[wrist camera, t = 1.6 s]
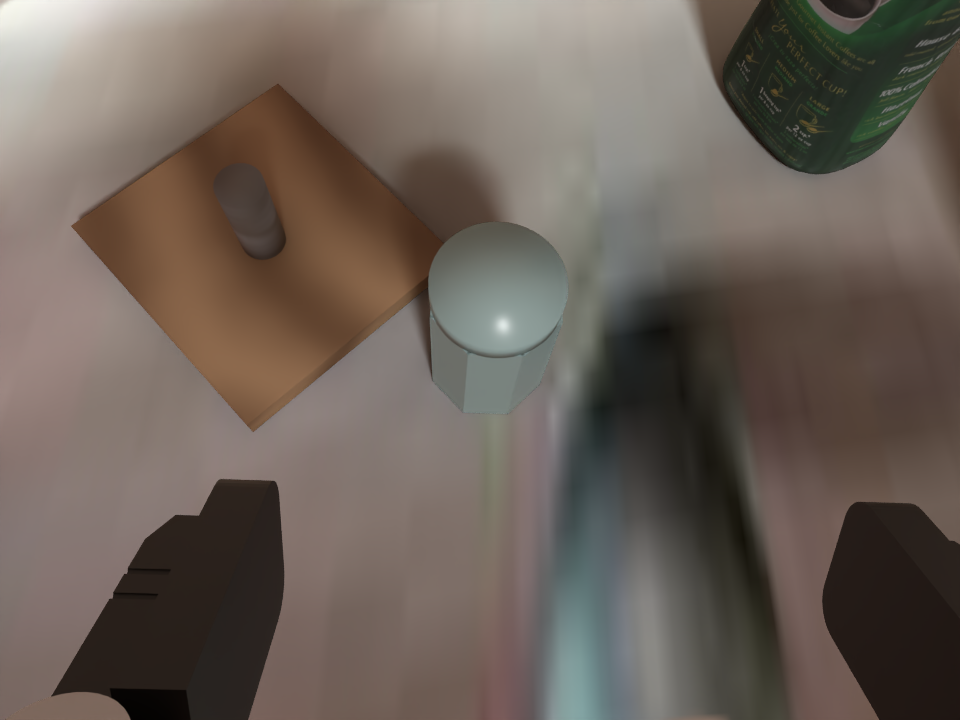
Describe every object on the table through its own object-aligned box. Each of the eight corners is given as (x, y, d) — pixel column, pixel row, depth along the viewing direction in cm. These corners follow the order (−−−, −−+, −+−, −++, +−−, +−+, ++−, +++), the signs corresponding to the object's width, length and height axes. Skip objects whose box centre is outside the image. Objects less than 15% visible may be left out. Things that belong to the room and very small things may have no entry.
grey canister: (488, 292, 39) (499, 197, 31) (563, 365, 38) (597, 287, 30) (409, 359, 38) (398, 279, 30) (485, 437, 37) (497, 377, 28)
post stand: (282, 98, 43) (256, 13, 37) (454, 264, 40) (455, 200, 34) (81, 237, 39) (18, 168, 34) (253, 432, 36) (216, 392, 31)
